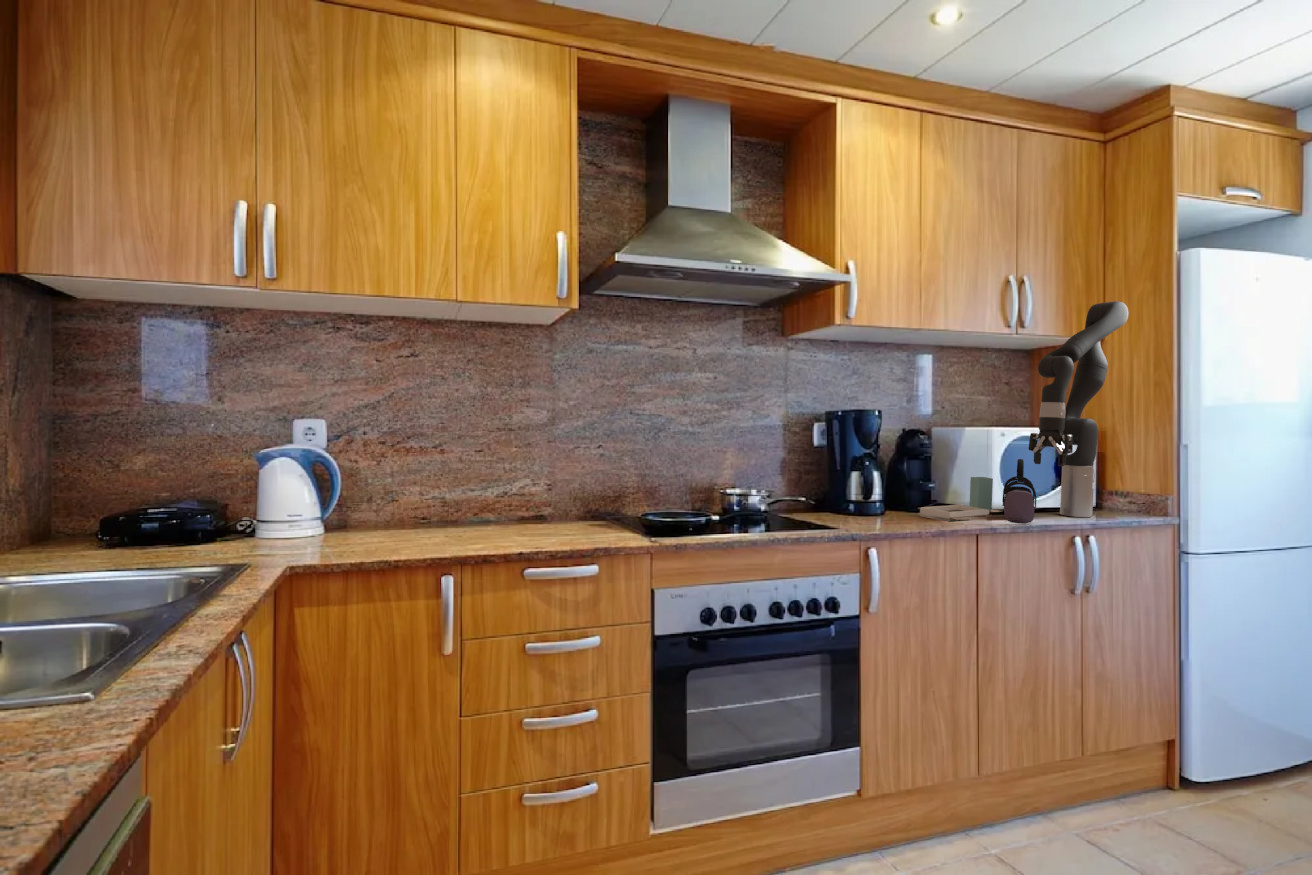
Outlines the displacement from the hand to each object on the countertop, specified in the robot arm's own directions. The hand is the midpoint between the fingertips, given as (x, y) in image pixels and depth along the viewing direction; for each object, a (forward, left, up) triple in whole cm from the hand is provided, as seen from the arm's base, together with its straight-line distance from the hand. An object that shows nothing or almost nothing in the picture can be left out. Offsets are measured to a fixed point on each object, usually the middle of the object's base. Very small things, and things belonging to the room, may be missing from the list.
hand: (1048, 465), depth 240 cm
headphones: (+16, +1, -18) cm, 24 cm away
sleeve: (+16, -13, -16) cm, 26 cm away
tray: (+31, -11, -18) cm, 37 cm away
